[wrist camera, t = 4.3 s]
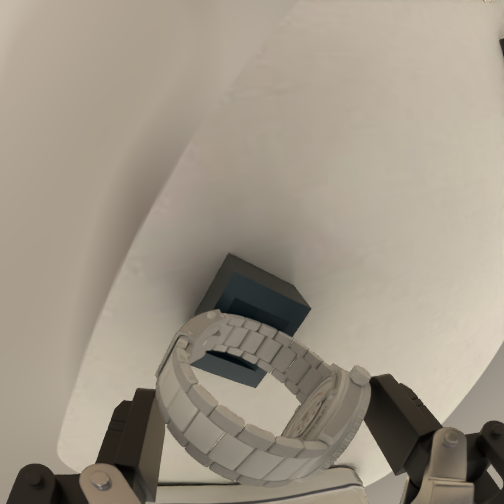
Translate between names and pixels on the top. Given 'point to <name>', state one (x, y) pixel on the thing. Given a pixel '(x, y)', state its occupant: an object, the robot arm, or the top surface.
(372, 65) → the top surface
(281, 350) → the watch
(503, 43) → the scale
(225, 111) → the top surface
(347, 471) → the boat shoe
